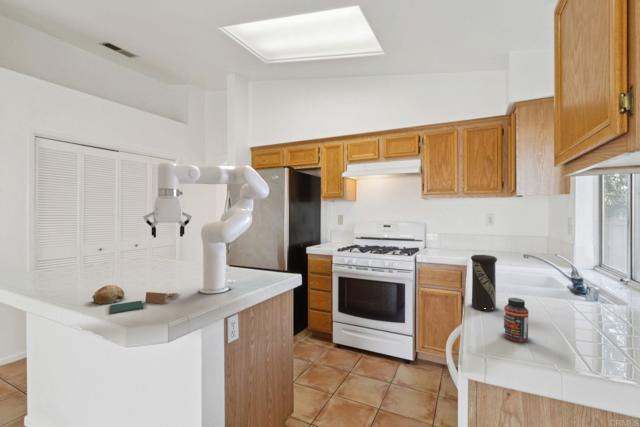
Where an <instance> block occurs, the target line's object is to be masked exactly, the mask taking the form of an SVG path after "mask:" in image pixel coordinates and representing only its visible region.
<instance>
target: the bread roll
mask: <svg viewBox="0 0 640 427" xmlns="http://www.w3.org/2000/svg"><path fill="white" fill-rule="evenodd" d="M91 298H92V299H93V302H94V304H98V305H103V304H105V305H107V304H108V305H109V304H113V303H114V304H115V303H118V302H120V301H122V300H123V299H124V298H125V291H124V290H123V289H122V287H120V286H118V285H117V284H116V285H115V284H114V285H113V284H108V285H104V286H102V287H100V288H99V289H97V290H96V291H95V292H94V294H93V295H92V297H91Z"/></svg>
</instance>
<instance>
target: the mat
mask: <svg viewBox="0 0 640 427" xmlns="http://www.w3.org/2000/svg"><path fill="white" fill-rule="evenodd" d="M143 309H144V305H143V302H142V300H136V301H129V302H122V303H116V304H115V303H114V304H110V311H109V312H110V315H112V314H119V313H125V312H131V311H138V310H143Z"/></svg>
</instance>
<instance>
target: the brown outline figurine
mask: <svg viewBox="0 0 640 427" xmlns="http://www.w3.org/2000/svg"><path fill="white" fill-rule="evenodd" d="M177 296H178V293H177V292H172V293H171V292H170V293H167V292H154V291H146V292H145V298H144V300H145V303H149V304H163V305H164V304H166V303H167V298H176V297H177Z"/></svg>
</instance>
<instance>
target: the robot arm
mask: <svg viewBox="0 0 640 427" xmlns="http://www.w3.org/2000/svg"><path fill="white" fill-rule="evenodd" d="M199 184H200V185H201V184H202V185H242V186H241V187H240V189H239V199H238V201H237V202H236V203H235V204H234V205H232V206H231V207H230V208H228V209H227V210H225V211H224V212H223V213H222V214H221V216H220V220H209V221H207V222H205V223H204V224H203V226H202V227H201V230H200V235H201V236H200V237H201V241H202V254H203V255H202V270H203V272H202V274H203V275H202V277H203V278H202V279H203V281H202V283H203V284H202V286H201V287H200V288H199V292H200V293H201V294H206V295H207V294H209V295H211V294H212V295H213V294H221V293H225V292H227V291H228V290H229V289H230V285H236V284H237V280H236V279H227V278H226V246H225V244H229V243H231V242H233V241H235V240H236V239H237V238H238V237H240V236H241V235H242V234H243V233H244V232H246V231H247V230H248V229H249V228H250V227H251V225H252V222H253V215H252V214H253V211H254V200H264V199H266V198H267V197H269V195H270V187H269V185H268V184H267V182H266V181H265V180H264V178H263V177H261V175H260V174H259V173H258V172H257V171H256V170H255V169H254V168H253V167H251V166H250V165H246V164H245V165H239V166H238V165H237V166H233V165H232V166H230V165H216V164H215V165H207V166H196V165H194V164H180V163H179V164H178V163H174V162H160V163H158V165H157V196H155V199H154V203H153V211H151V212H149V213H148V214H145V215H143V219H144V221H145V223H146V224H147V225H148V226H149V227H151V236H152V237H153V238H154V239H155V238H157V227H156V226H157V225H158V223H178V224H179V225H180V226H179V237H181V238H182V237H184V235H185V228H186V226H187V225H188V224H189V223H190V221H191V219H192V217H193V216H192V215H190V214H188V213H186V212H184V211H183V205H182V204H183V203H182V199H181V197H180V196H183V194H184V193H183V191H180V190H179V189H180V185H199ZM150 217H153V222H152V221H150V219H149V218H150ZM183 217H186V219H185V220H184V221H183Z"/></svg>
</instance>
